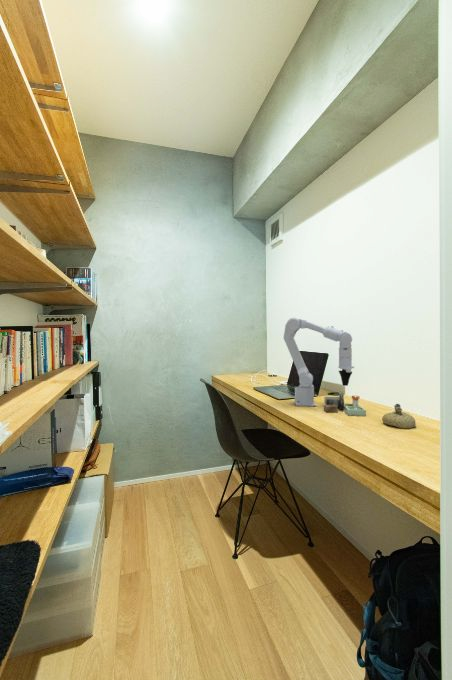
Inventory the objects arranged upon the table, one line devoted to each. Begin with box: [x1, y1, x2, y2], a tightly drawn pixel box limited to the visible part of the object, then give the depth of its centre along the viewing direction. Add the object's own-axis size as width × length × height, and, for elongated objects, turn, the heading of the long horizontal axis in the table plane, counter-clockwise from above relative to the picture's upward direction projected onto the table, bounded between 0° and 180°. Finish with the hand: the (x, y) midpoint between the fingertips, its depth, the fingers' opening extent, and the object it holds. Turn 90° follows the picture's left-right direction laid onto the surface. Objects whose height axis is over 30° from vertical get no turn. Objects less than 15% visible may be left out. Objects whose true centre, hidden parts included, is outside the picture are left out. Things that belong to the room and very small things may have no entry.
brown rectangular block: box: [323, 404, 339, 414], centre depth 140 cm, size 5×4×3 cm
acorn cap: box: [381, 403, 416, 429], centre depth 120 cm, size 10×11×10 cm
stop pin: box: [351, 395, 360, 410], centre depth 137 cm, size 3×3×7 cm
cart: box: [323, 391, 345, 411], centre depth 147 cm, size 8×10×7 cm
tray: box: [344, 405, 367, 417], centre depth 137 cm, size 7×7×2 cm
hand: (345, 385), depth 149 cm, fingers closed
